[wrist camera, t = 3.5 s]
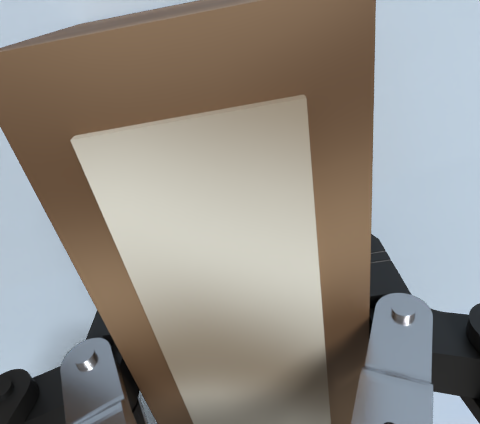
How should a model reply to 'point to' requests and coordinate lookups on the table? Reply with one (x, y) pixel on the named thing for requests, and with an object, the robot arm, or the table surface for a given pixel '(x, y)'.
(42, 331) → the table surface
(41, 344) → the table surface
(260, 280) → the walnut frame
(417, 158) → the table surface
